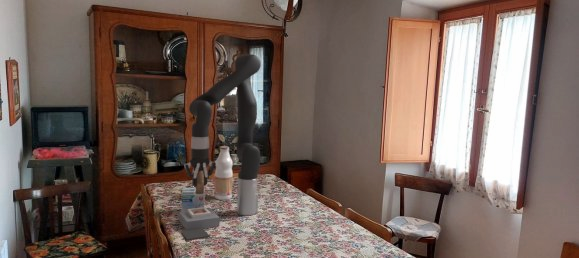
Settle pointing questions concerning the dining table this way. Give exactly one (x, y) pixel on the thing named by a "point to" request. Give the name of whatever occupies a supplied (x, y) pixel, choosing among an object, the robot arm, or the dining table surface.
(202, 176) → the dowel
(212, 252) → the dining table surface
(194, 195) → the light bulb box
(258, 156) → the robot arm
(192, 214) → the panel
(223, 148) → the fruit juice
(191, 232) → the mat
